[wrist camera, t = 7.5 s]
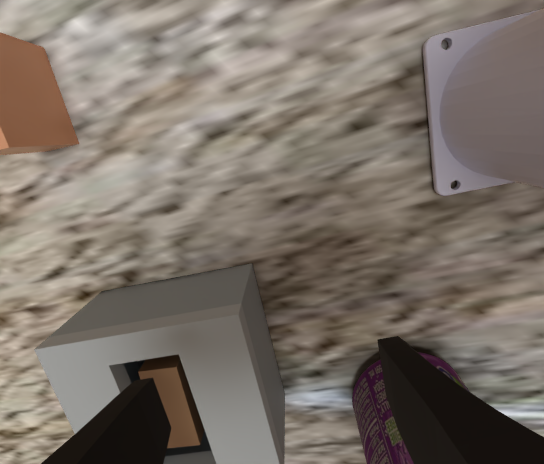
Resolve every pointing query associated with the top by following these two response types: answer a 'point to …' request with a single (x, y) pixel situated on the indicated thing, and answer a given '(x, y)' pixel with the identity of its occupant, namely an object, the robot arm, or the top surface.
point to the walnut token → (175, 399)
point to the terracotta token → (30, 101)
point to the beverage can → (384, 415)
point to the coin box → (193, 354)
